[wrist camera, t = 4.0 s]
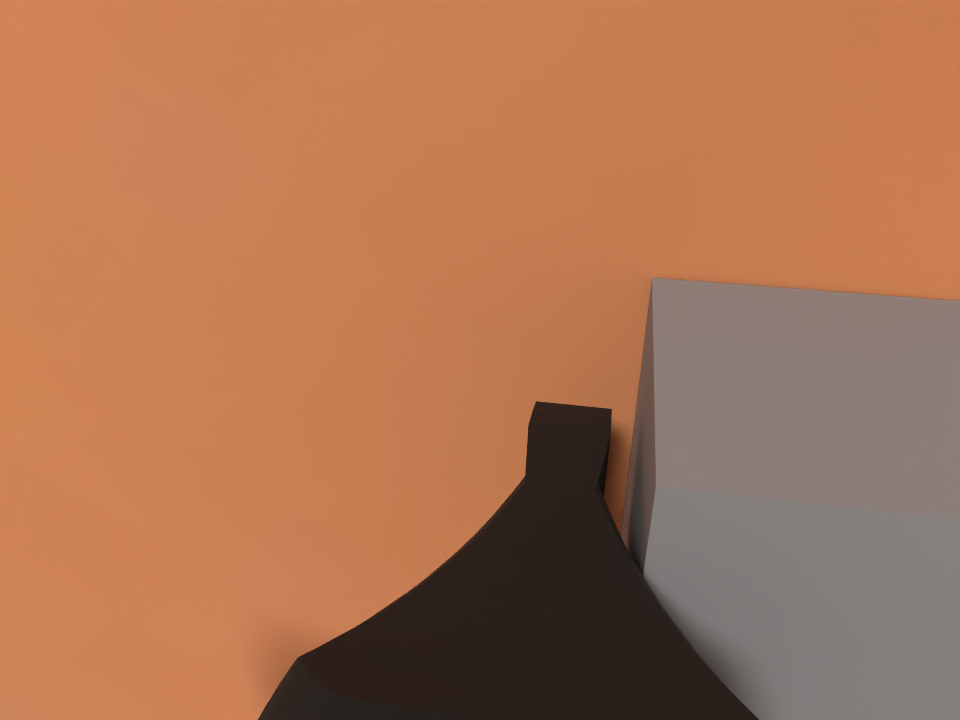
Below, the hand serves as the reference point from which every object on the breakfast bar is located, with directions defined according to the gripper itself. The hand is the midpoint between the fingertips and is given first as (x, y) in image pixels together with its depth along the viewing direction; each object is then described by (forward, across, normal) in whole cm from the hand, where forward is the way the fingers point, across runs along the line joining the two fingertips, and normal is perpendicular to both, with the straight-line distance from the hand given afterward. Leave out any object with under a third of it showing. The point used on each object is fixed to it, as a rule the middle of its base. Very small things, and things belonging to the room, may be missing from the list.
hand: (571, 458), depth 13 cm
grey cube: (+1, -3, 0) cm, 4 cm away
